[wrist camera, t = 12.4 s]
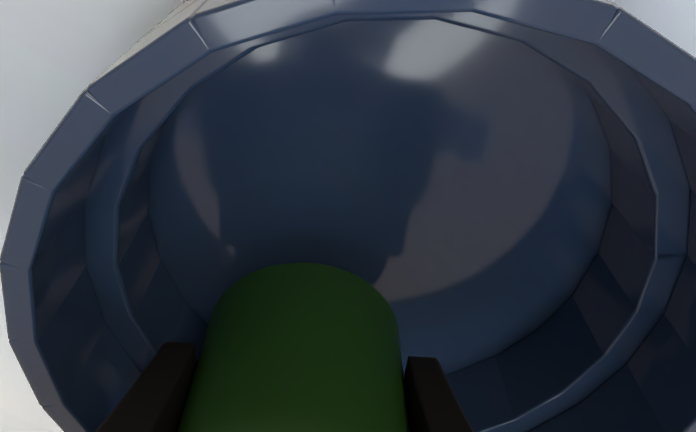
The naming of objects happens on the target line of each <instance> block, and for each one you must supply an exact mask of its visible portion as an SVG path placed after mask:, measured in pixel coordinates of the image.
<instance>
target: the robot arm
mask: <svg viewBox="0 0 696 432" xmlns="http://www.w3.org/2000/svg"><path fill="white" fill-rule="evenodd" d="M196 366H197V361H196V350H195V343H181V342H166V343H164V344H163V345H162V346H161V347H160V349H159V350H158V352H157V353H156V355H155V356H154V358H153V359H152V360H151V362H150V363H149V365H148V366H147V367H146V369H145V370H144V371H143V373H142V374H141V375H140V377H139V378H138V379H137V381H136V382H135V383H134V385H133V386H132V387H131V389H130V390H129V391H128V392H127V394H126V395H125V396H124V397H123V399H122V400H121V401H120V402H119V404H118V405H117V406H116V407H115V408H114V410H113V411H112V412H111V413H110V415H109V416H108V417H107V418H106V419H105V421H104V422H103V423H102V424H101V425H100V427H99V428H98V429H97V430H96V431H95V432H177V431H178V428H179V425H180V421H181V418H182V414H183V411H184V407H185V404H186V401H187V397H188V394H189V390H190V387H191V384H192V380H193V377H194V373H195V370H196ZM404 384H405V393H406V402H407V411H408V420H409V429H410V432H474V430H473V428H472V427H471V425H470V423H469V421H468V419H467V418H466V416H465V414H464V412H463V410H462V408H461V406H460V404H459V402H458V400H457V398H456V397H455V395H454V392H453V390H452V388H451V386H450V384H449V382H448V380H447V378H446V376H445V374H444V371H443V369H442V367H441V365H440V362H439V361H438V360H437V359H436V358H433V357H417V356H408V360H407V365H406V369H405V374H404Z"/></svg>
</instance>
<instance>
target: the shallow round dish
mask: <svg viewBox="0 0 696 432" xmlns="http://www.w3.org/2000/svg"><path fill="white" fill-rule="evenodd" d="M297 262H304V263H317V264H323V265H329V266H332V267H336V268H340V269H342V270H345V271H348V272H350V273H352V274H354V275H356V276H358V277H360V278H362V279H363V280H365V281H366V282H368V283H369V284H371V285H372V286H373V287H374V288H375V289H376V290H378V291H379V292H380V293H381V295H382V296H383V297H384V298H385V299H386V301H387V302H388V303H389V305H390V307H391V308H392V310H393V312H394V315H395V317H396V320H397V325H398V331H399V340H400V348H401V357H402V366H403V375H404V374H405V369H406V365H407V360H408V356H417V357H433V358H436V359H437V360H438V361H439V362H440V365H441V367H442V369H443V371H444V374H445V376H446V378H447V380H448V382H449V384H450V386H451V388H452V390H453V392H454V395H455V397H456V398H457V400H458V402H459V404H460V406H461V408H462V410H463V412H464V414H465V416H466V418H467V419H468V421H469V423H470V425H471V427H472V428H473V430H474V432H696V58H695V57H693V56H692V55H690V54H689V53H687V52H686V51H684V50H683V49H682V48H680V47H679V46H677V45H676V44H674V43H673V42H671V41H670V40H668V39H667V38H665V37H664V36H662V35H661V34H659V33H658V32H656V31H655V30H653V29H652V28H651V27H649V26H648V25H646V24H645V23H643V22H642V21H640V20H639V19H637V18H636V17H634V16H633V15H631V14H630V13H628V12H627V11H625V10H624V9H622V8H621V7H619V6H617V5H615V4H613V3H611V2H610V1H608V0H187V1H186V2H184V3H183V4H181V5H180V6H179V7H177V8H176V9H174V10H173V11H172V12H171V13H170V14H169V15H168V16H167V17H165V18H164V19H163V20H162V21H161V22H160V23H159V24H158V25H156V26H155V27H154V28H153V29H152V30H151V31H150V32H149V33H147V34H146V35H145V36H144V37H143V38H142V39H141V40H139V41H138V42H137V43H136V44H135V45H134V46H132V47H131V48H130V49H129V50H128V51H127V52H126V53H125V54H123V55H122V56H121V57H120V58H119V59H118V60H117V61H115V62H114V63H113V64H112V65H111V66H110V67H109V68H108V69H106V70H105V71H104V72H103V73H102V74H101V75H100V76H99V77H97V78H96V79H95V80H94V81H93V82H92V83H91V84H89V86H88V87H87V88H86V89H84V90H83V91H82V93H81V94H80V95H79V97H78V98H77V100H76V101H75V102H74V104H73V105H72V106H71V108H70V109H69V111H68V112H67V113H66V115H65V116H64V117H63V119H62V120H61V122H60V123H59V124H58V126H57V127H56V128H55V130H54V131H53V132H52V134H51V135H50V137H49V138H48V139H47V141H46V142H45V143H44V145H43V146H42V148H41V149H40V150H39V152H38V153H37V154H36V156H35V157H34V159H33V160H32V161H31V163H30V164H29V165H28V167H27V168H26V169H25V171H24V175H23V176H22V177H21V180H20V184H19V188H18V192H17V195H16V199H15V203H14V207H13V211H12V214H11V218H10V222H9V226H8V230H7V233H6V237H5V241H4V245H3V248H2V252H1V256H0V273H1V281H2V290H3V298H4V307H5V315H6V323H7V332H8V338H9V339H10V340H9V343H10V345H11V347H12V349H13V351H14V353H15V355H16V357H17V359H18V361H19V364H20V366H21V368H22V370H23V372H24V374H25V376H26V378H27V380H28V382H29V384H30V386H31V388H32V390H33V392H34V394H35V396H36V398H37V400H38V402H39V404H40V405H41V406H42V407H43V409H44V410H45V411H46V413H47V414H48V415H49V416H50V417H51V418H52V419H53V420H54V421H55V422H56V424H57V425H58V426H59V427H60V428H61V429H62V430H63V431H64V432H95V431H96V430H97V429H98V428H99V427H100V425H101V424H102V423H103V422H104V421H105V419H106V418H107V417H108V416H109V415H110V413H111V412H112V411H113V410H114V408H115V407H116V406H117V405H118V404H119V402H120V401H121V400H122V399H123V397H124V396H125V395H126V394H127V392H128V391H129V390H130V389H131V387H132V386H133V385H134V383H135V382H136V381H137V379H138V378H139V377H140V375H141V374H142V373H143V371H144V370H145V369H146V367H147V366H148V365H149V363H150V362H151V360H152V359H153V358H154V356H155V355H156V353H157V352H158V350H159V349H160V347H161V346H162V345H163V344H164V343H166V342H181V343H195V350H196V361H197V363H198V360H199V356H200V353H201V349H202V346H203V343H204V339H205V336H206V332H207V329H208V326H209V322H210V319H211V315H212V312H213V309H214V307H215V305H216V303H217V302H218V300H219V299H220V297H221V296H222V295H223V293H224V292H225V291H226V290H227V289H228V288H229V287H230V286H232V285H233V284H234V283H236V282H237V281H238V280H240V279H241V278H243V277H245V276H246V275H248V274H250V273H252V272H255V271H257V270H260V269H262V268H266V267H269V266H273V265H278V264H284V263H297Z"/></svg>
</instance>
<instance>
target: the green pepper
mask: <svg viewBox="0 0 696 432" xmlns="http://www.w3.org/2000/svg"><path fill="white" fill-rule="evenodd" d="M177 432H410V429H409V420H408V411H407V402H406V393H405V384H404V375H403V366H402V357H401V348H400V340H399V331H398V325H397V320H396V317H395V315H394V312H393V310H392V308H391V307H390V305H389V303H388V302H387V301H386V299H385V298H384V297H383V296H382V295H381V293H380V292H379V291H378V290H376V289H375V288H374V287H373V286H372V285H371V284H369V283H368V282H366V281H365V280H363V279H362V278H360V277H358V276H356V275H354V274H352V273H350V272H348V271H345V270H342V269H340V268H336V267H332V266H329V265H323V264H317V263H304V262H297V263H284V264H278V265H273V266H269V267H266V268H262V269H260V270H257V271H255V272H252V273H250V274H248V275H246V276H245V277H243V278H241V279H240V280H238V281H237V282H236V283H234V284H233V285H232V286H230V287H229V288H228V289H227V290H226V291H225V292H224V293H223V295H222V296H221V297H220V299H219V300H218V302H217V303H216V305H215V307H214V309H213V312H212V315H211V319H210V322H209V326H208V329H207V332H206V336H205V339H204V343H203V346H202V349H201V353H200V356H199V360H198V363H197V366H196V370H195V373H194V377H193V380H192V384H191V387H190V390H189V394H188V397H187V401H186V404H185V407H184V411H183V414H182V418H181V421H180V425H179V428H178V431H177Z"/></svg>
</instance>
